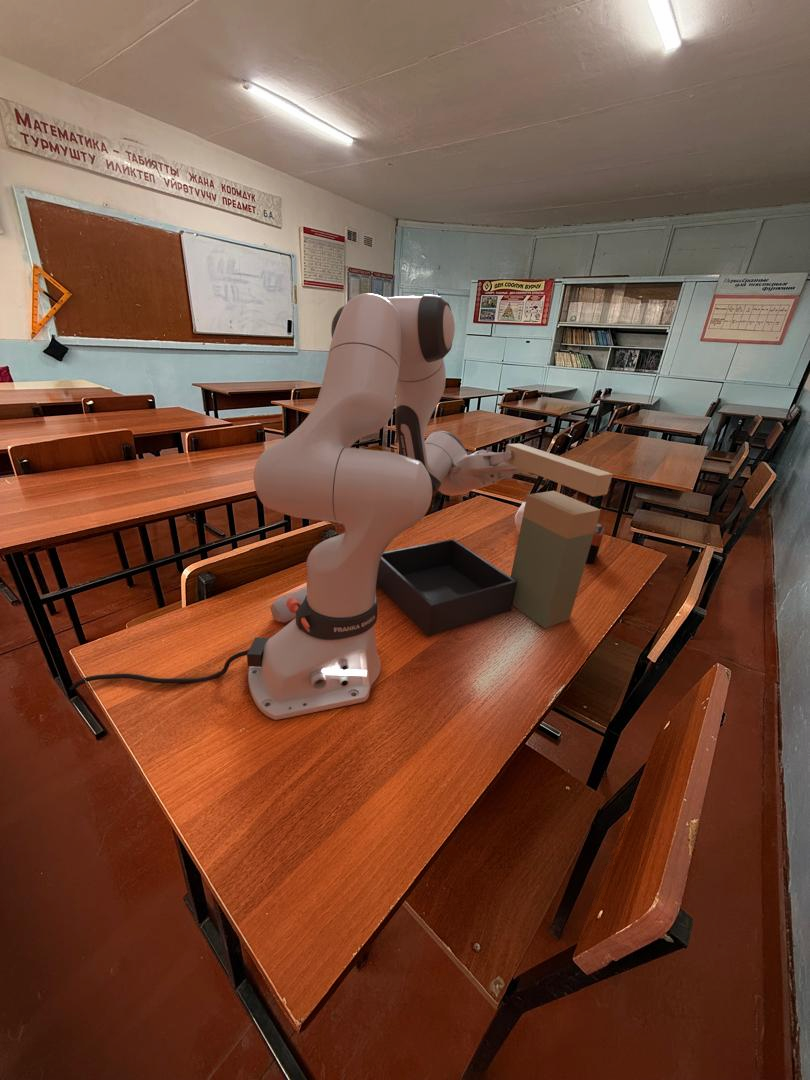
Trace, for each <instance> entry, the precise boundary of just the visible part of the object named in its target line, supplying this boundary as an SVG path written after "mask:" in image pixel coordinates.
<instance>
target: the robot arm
mask: <svg viewBox="0 0 810 1080" xmlns="http://www.w3.org/2000/svg"><path fill="white" fill-rule="evenodd" d="M455 325H456V324H455V318H454V315H453V312H452V309H451V305H450V304H449V302H448V301H447V300H446V299H445V298H444V297H443V296H440V295H436V294H428V293H424V294H423V295H421V296H419V295H399V296H382V295H380V294H376V293H369V292H367V293H360V294H356V295H355V296H353V297H351V298H350V299H349V300H348V301H347V302H346V303H345V305H342V306H341V307H340V308H339V309H337V311H336V313H335V315H334V316H333V318H332V321H331V330H330V331H331V342H330V346H329V349H328V355H327V359H326V364H325V365H326V366H325V369H324V374H323V378H322V383H321V386H320V389H319V392H318V397H317V400H316V402H315V404H314V406H313V407H312V409H311V410H310V412H309V413H308V415H307V417H306V418H304V420H303V421H302V423H300V425H299V426H298V427H297V428H295V430H294V431H292V432H291V433H290V434H289V435H287V436H286V437H284V438H283V439H281V440H279V441H277V442H275V443H273V444H271V445H269V446H268V447H267V448H265V449H264V450H263V452H262V453H261V454H260V455H259V457H258V458H257V461H256V464H255V467H254V471H253V486H254V491H255V493H256V495H257V497H258V499H259V501H260V502H261V504H262V506H264V507H265V508H266V509H269V510H271V511H274V512H276V513H279V514H282V515H285V516H289V517H292V518H297V519H302V520H303V519H305V520H313V521H319V522H320V521H321V522H329V523H330V522H331V523H336V524H340V525H343V527H344V532H343V533H341V534H338V535H335V536H332V537H329V538H327V539H325V540H323V541H321V542H319V543H318V544H316V545H315V546H313V548H312V549H311V550H310V552H309V554H308V556H307V559H306V562H305V563H306V564H305V568H306V587H307V595H306V597H305V599H304V601H303V603H302V604H300V603H299V602H298V600H297V599H296V598H295V597H291V598H289V599H288V601H286V606H287V607H288V608H289V611H290V612H292V613H296V618H295V619H293V620H290V621H289V622H288V623H286V625H285V626H284V627H282V628H281V629H280V630H279V631H277V632H276V633H275V634H273V635H272V636H270V637H269V638H268V637H258V636H257V637H254V639H253V641H252V643H251V645H250V647H249V649H246V650H242V651H240V652H237V653H234V654H232V655H231V656H230V657H228V659H227V660H226V661H225V663H224V666H223V668H222V669H221V670H220V671H218V672H216V673H213V674H211V675H208V676H203V677H193V678H192V677H190V678H186V677H185V678H179V677H178V678H177V677H176V678H175V677H174V678H171V677H170V678H160V677H151V676H146V675H141V674H135V673H107V674H106V673H104V674H95V675H90V676H86V677H83V678H81V679H79V680H77V681H76V682H74V683H73V684H72V685H71V686H70V687H69V689H68V690H69V691H74V690H76V689H77V688H78V687H80V686H81V685H83V684H86V683H89V682H92V681H93V682H94V681H102V680H116V679H118V680H119V679H129V680H130V679H131V680H137V681H143V682H147V683H153V684H195V683H200V682H205V681H210V680H215V679H218V678H219V677H222V676H224V675H225V674H226V673H227V672H228V670H229V667H230V665H231V663H232V662H233V661H235V660H237V659H239V658H242V657H244V656H246V660H247V667H249V669H248V674H247V684H248V689H249V692H250V695H251V698H252V700H253V702H254V704H255V705H256V707H257V709H258V710H259V711H260V712H261V713H262V714H264V715H265V716H266V717H268V718H269V719H272V720H274V721H278V720H283V719H288V718H293V717H298V716H303V715H308V714H312V713H317V712H323V711H327V710H332V709H336V708H341V707H342V708H343V707H347V706H351V705H356V704H360V703H361V704H362V703H365V702H366V701H367V700H368V699H369V697H370V694H371V688H372V685H373V684H374V683H375V682H376V680H377V679H378V677H379V676H380V673H381V669H382V662H381V658H380V656H379V653H378V647H377V641H376V640H377V639H376V624H377V620H378V596H377V593H376V591H377V584H376V582H377V574H378V568H379V563H380V560H381V557H382V555H383V553H384V552H386V549H387V548H388V546H389V545H390V544H391V543H392V542H393V540H395V539H396V538H397V537H398V536H399V535H400V534H402V533H404V532H405V531H407V530H409V529H411V528H413V527H414V526H415V525H417V524H419V522H421V520H422V519H423V518H424V517H425V516H426V514H427V512H428V511H429V508H430V506H431V502H432V499H433V496H435V495H436V494H438V492H440V494H442V495H446V496H452V497H453V496H459V495H464V494H467V493H469V492H472V491H473V490H480V489H483V488H485V487H488V486H491V485H494V484H496V483H498V482H501V481H506V480H509V479H512V478H514V477H513V476H514V475H517V474H519V473H521V472H523V471H525V470H523V469H521V468H518V467H516V466H513V465H511V464H508V463H505V462H504V461H508V460H512V459H514V452H513V451H506V450H505V451H503V452H501V451H500V452H494V451H488V450H487V449H480V450H477V451H475V452H472V453H470V454H469V453H468V451H467V449H466V448H465V446H464V444H463V443H462V441H461V440H460V439H459V438H458V437H457V436H456V435H455V434H453V433H451V432H449V431H445V430H435V431H432V432H431V433H430V434H429V435H428V437H427V438H426V439H425V437H426V436H425V435H426V431H427V428H428V425H429V422H430V421H431V420H430V419H431V418H432V416H433V413H434V412H435V410H436V407H437V406H438V404H439V402H440V401H441V398H442V397H443V395H444V392H445V388H446V380H447V379H446V378H447V375H446V366H445V360H444V358H445V357H446V356H447V355H448V354H449V352H450V351H451V349H452V347H453V342H454V339H455V333H456V331H455V330H456V327H455ZM394 408H395V412H394ZM393 413H394V424H395V431H396V439H397V443H398V444H397V445H398V450H399V453H395V452H393V451H386V450H375V449H367V448H358V447H352V446H353V445H354V444H355V443H357V442H358V441H360V439H363V438H364V437H367V436H370V435H372V434H374V433H377V432H378V431H380V430H382V429H383V428H384V427H385V426H386V425H387V423H389V421H390V420H391V418H392V416H393ZM84 679H85V680H86V681H87V682H85V680H84Z"/></svg>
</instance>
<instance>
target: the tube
mask: <svg viewBox="0 0 810 1080" xmlns="http://www.w3.org/2000/svg"><path fill="white" fill-rule="evenodd" d="M306 595H307V586H306V587H304V588H301V589H298V590H295V591H293V592H291V593H289V594H286V595H282V596H281V597H278V598H276V599H275V600H274V602H273V603H272V604H271V605H270V607H269V608H270V609H269V610H270V612H271V616H272V619H273V620H274V621H276V622H278V623H282V624H287V623H289V622H291V621H292V620H294V619H295V618H296V613H292V612H290V611H289V608H288V607H287V606H286V601H288V599H289V598H291V597H295V598H296V599H297V600H298V602H299V603H300V604H302V603H303V601H304V599H305V597H306Z"/></svg>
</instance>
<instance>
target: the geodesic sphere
mask: <svg viewBox="0 0 810 1080" xmlns="http://www.w3.org/2000/svg"><path fill="white" fill-rule="evenodd" d="M525 503H526V501H523V502H522V503H521V505H520V506H519V508H518V510H517V511H516V513H515V514H514V525H515V530H516V531H517V532H518V534H519V533H520V528H521V523H522V518H523V513H524V508H525Z"/></svg>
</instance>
